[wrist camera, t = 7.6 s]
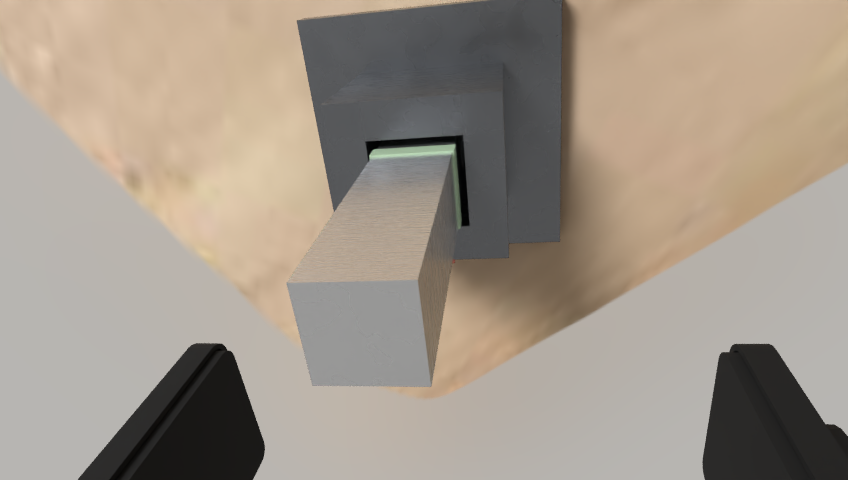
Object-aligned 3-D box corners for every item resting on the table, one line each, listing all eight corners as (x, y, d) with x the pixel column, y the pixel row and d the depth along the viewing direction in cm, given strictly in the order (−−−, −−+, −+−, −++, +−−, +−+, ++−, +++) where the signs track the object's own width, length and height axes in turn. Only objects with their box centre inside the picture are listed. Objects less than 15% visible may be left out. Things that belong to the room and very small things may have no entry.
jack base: (559, -9, 32) (581, 2, 23) (557, 232, 39) (573, 310, 30) (304, 18, 35) (237, 37, 26) (346, 239, 42) (304, 313, 33)
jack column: (459, 126, 30) (420, 276, 15) (465, 197, 31) (434, 389, 17) (385, 131, 30) (282, 280, 16) (394, 201, 32) (310, 387, 18)
